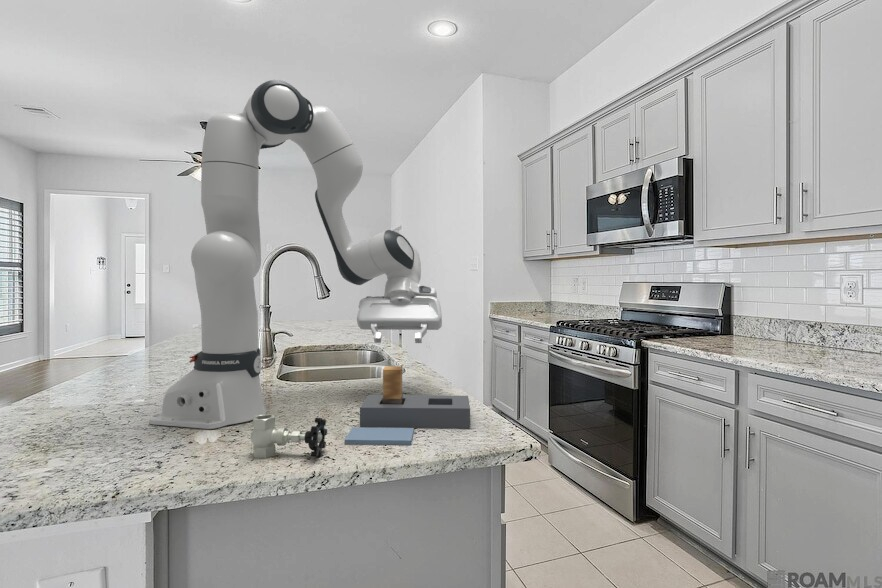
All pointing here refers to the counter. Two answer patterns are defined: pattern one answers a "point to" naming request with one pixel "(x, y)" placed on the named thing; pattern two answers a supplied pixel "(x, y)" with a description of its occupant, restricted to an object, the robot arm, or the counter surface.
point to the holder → (416, 412)
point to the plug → (392, 385)
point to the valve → (284, 436)
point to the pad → (380, 436)
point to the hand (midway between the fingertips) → (397, 341)
